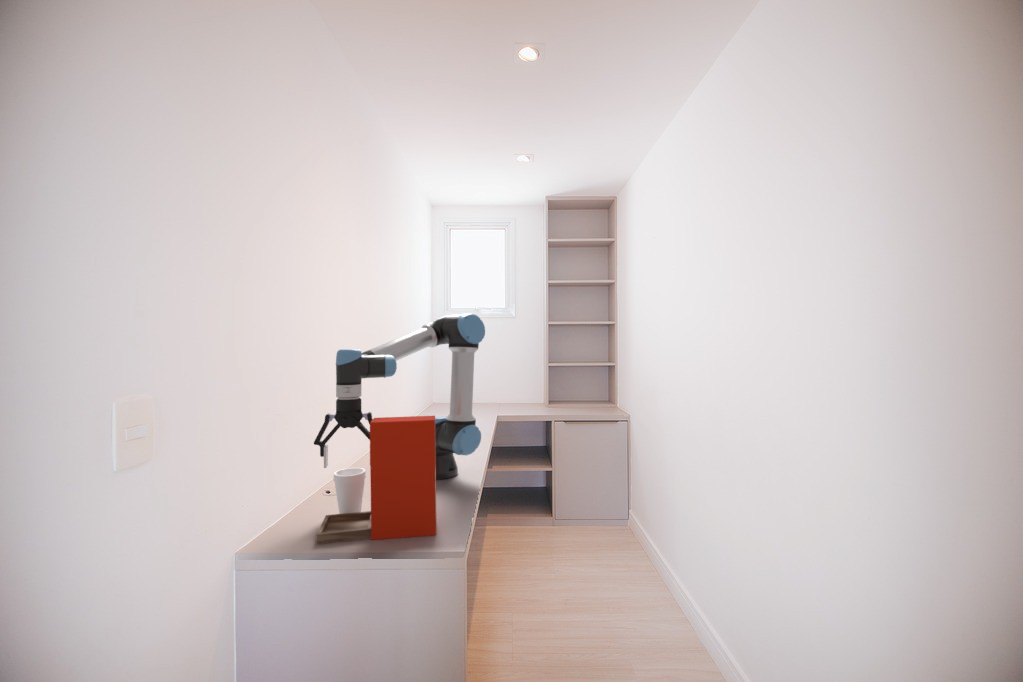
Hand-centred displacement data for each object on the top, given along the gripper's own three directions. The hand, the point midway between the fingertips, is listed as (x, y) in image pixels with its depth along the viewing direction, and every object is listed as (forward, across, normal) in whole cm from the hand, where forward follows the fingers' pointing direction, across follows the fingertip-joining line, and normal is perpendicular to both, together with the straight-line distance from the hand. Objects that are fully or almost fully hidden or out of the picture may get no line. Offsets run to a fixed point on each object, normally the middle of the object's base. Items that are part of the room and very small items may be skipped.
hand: (348, 465), depth 141 cm
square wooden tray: (+15, +1, -14) cm, 20 cm away
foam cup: (+15, 0, 0) cm, 15 cm away
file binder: (+15, +17, -19) cm, 30 cm away
